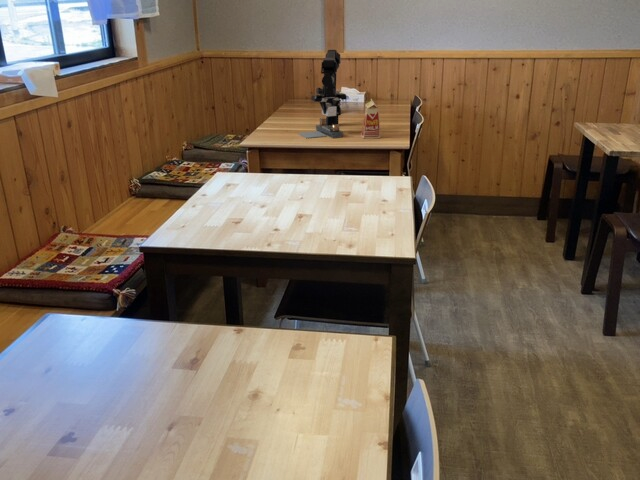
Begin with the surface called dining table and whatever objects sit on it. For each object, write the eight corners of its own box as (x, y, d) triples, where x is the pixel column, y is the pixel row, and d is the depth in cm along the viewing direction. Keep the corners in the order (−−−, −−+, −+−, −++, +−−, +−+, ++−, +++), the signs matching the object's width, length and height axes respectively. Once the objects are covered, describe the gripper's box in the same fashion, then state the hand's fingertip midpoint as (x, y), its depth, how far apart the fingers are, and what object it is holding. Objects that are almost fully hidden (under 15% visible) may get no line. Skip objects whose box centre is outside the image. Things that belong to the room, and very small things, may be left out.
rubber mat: (318, 132, 322) (318, 131, 322) (326, 136, 312) (326, 135, 312) (298, 134, 318) (298, 133, 318) (306, 138, 308) (306, 137, 308)
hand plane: (316, 130, 327) (316, 117, 324) (325, 129, 329) (325, 117, 326) (332, 138, 308) (332, 125, 306) (342, 137, 311) (342, 124, 308)
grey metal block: (321, 113, 317) (321, 103, 315) (330, 113, 319) (330, 102, 317) (327, 116, 310) (327, 105, 308) (336, 115, 312) (336, 104, 310)
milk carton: (361, 135, 315) (361, 98, 307) (377, 135, 315) (379, 97, 308) (363, 139, 306) (364, 100, 298) (380, 138, 307) (382, 100, 299)
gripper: (338, 81, 319) (338, 109, 325) (307, 83, 312) (307, 112, 318) (347, 83, 309) (346, 113, 315) (315, 85, 302) (315, 115, 308)
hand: (329, 113), depth 314 cm, fingers closed on grey metal block, 5 cm apart
